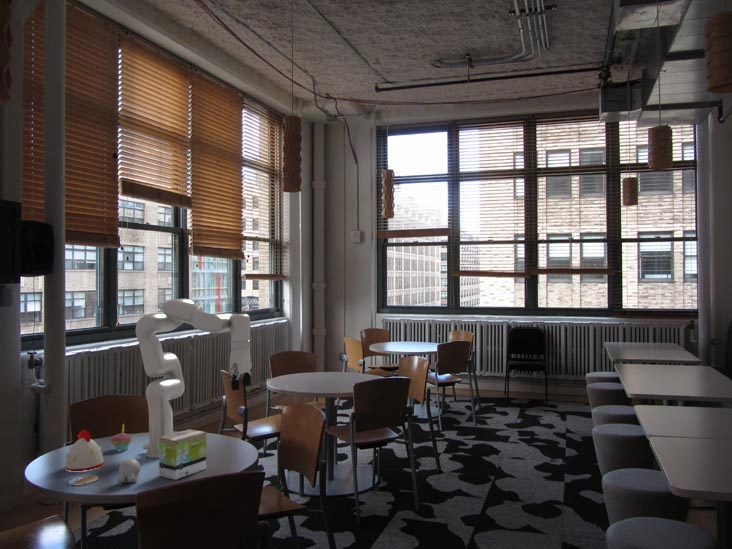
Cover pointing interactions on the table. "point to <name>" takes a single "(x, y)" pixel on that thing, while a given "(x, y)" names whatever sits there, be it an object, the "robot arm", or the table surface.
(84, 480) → the cork coaster
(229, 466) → the table surface
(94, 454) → the white cream cake
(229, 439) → the table surface
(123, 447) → the cupcake
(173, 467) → the tea box
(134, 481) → the chubby cartoon animal
